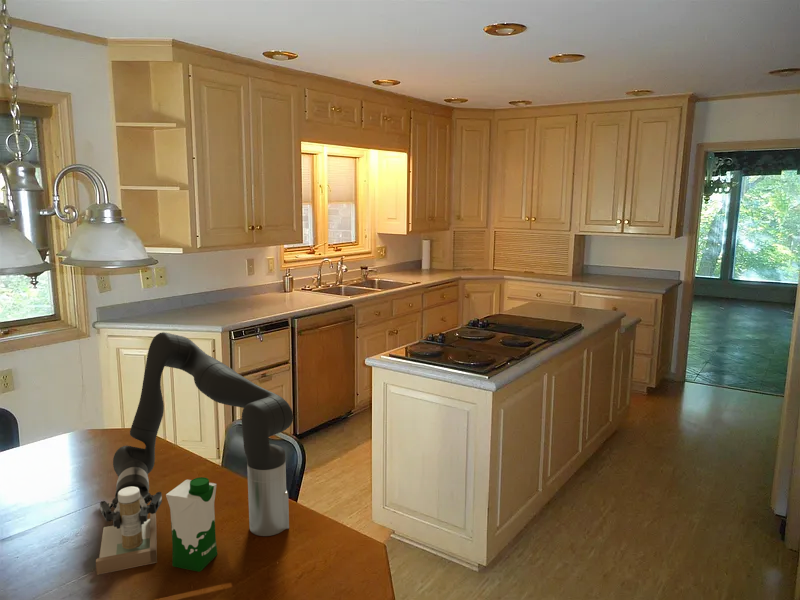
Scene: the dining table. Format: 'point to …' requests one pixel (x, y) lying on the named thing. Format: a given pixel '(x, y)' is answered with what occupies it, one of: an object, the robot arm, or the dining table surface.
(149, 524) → the tray
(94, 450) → the dining table surface
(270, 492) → the robot arm
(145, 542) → the pad
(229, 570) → the dining table surface
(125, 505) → the sprinkles bottle
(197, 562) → the milk carton
